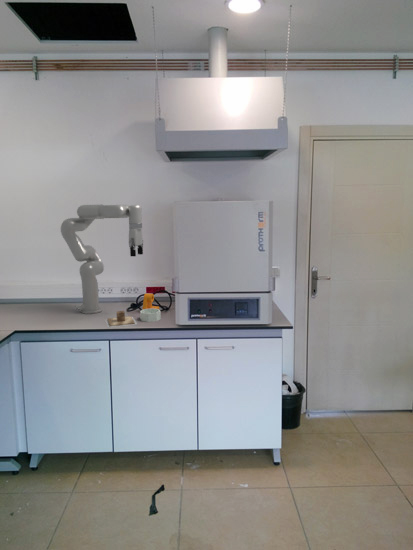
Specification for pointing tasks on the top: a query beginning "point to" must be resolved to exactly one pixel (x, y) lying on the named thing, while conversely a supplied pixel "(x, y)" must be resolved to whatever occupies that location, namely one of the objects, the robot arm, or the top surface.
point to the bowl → (150, 315)
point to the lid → (120, 319)
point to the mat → (120, 325)
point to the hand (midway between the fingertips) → (136, 255)
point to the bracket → (148, 301)
